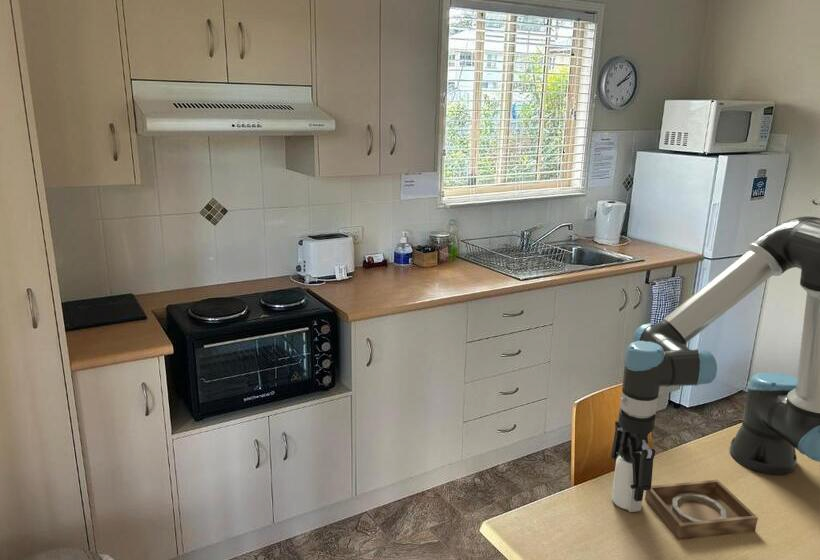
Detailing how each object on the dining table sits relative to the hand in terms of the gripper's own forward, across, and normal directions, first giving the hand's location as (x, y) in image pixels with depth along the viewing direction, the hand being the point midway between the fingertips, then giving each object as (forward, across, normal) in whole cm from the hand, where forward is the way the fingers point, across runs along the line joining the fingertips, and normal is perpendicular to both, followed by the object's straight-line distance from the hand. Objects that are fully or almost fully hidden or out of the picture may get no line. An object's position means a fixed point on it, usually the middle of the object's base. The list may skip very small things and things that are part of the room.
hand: (626, 500), depth 147 cm
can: (+1, 0, 0) cm, 1 cm away
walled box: (+1, +6, +14) cm, 15 cm away
